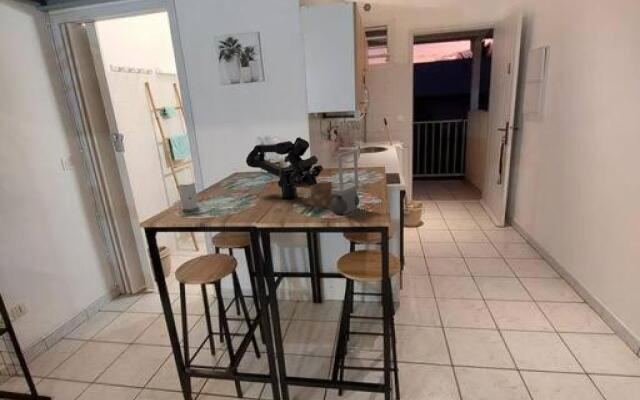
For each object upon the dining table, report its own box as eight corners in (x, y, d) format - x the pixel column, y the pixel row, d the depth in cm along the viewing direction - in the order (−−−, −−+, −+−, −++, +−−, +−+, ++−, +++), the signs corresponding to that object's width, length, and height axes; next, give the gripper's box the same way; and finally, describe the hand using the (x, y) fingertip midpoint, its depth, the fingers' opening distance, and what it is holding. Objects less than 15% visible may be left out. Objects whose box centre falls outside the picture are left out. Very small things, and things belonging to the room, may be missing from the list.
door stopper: (295, 187, 190) (293, 165, 187) (286, 186, 193) (284, 165, 190) (305, 183, 197) (303, 162, 194) (296, 182, 200) (294, 162, 197)
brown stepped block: (303, 203, 157) (301, 184, 154) (317, 198, 164) (316, 180, 162) (331, 208, 147) (329, 188, 144) (344, 202, 154) (343, 183, 152)
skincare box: (182, 209, 162) (177, 184, 159) (188, 206, 166) (184, 182, 163) (193, 209, 160) (188, 184, 157) (199, 206, 164) (195, 182, 161)
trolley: (330, 213, 141) (326, 153, 134) (346, 206, 149) (343, 149, 143) (344, 216, 137) (340, 154, 130) (360, 208, 145) (358, 149, 138)
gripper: (290, 154, 148) (312, 181, 144) (318, 147, 161) (339, 172, 157) (280, 171, 155) (300, 197, 151) (307, 163, 168) (326, 187, 164)
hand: (317, 188), depth 156 cm, fingers closed
